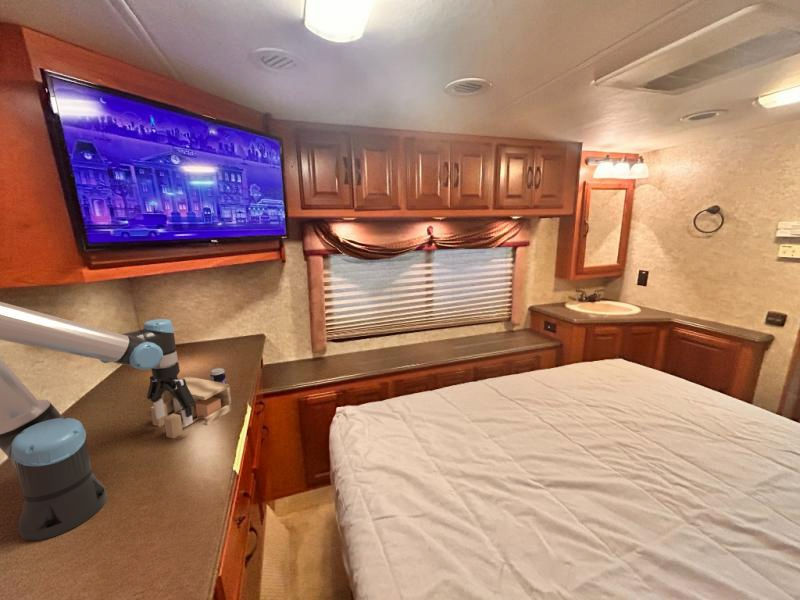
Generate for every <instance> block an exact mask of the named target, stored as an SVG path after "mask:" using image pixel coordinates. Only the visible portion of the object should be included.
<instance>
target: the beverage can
mask: <svg viewBox="0 0 800 600" xmlns="http://www.w3.org/2000/svg"><path fill="white" fill-rule="evenodd" d="M209 377H210V381H215V382H220V383H225V384H227V379H226V370H225V369H224V368H223V367H217V368H214V369H212V370H210V374H209Z"/></svg>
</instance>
